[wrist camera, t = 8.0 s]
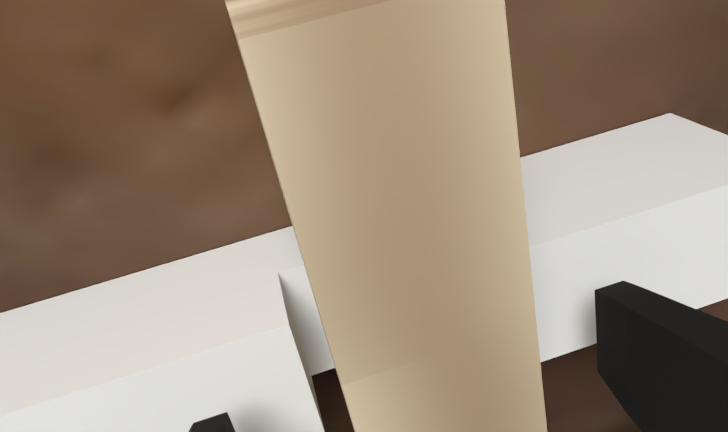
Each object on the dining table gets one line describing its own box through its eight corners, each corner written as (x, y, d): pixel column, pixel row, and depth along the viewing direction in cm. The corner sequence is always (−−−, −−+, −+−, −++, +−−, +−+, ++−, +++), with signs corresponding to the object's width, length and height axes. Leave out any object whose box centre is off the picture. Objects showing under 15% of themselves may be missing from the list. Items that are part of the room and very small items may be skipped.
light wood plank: (361, 456, 19) (438, 708, 13) (220, -13, 13) (237, 40, 6) (452, 424, 19) (569, 655, 13) (359, -47, 13) (501, -29, 7)
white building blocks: (39, 411, 16) (-8, 550, 12) (-18, 318, 14) (-90, 444, 11) (667, 210, 18) (782, 279, 14) (670, 112, 16) (797, 162, 13)
